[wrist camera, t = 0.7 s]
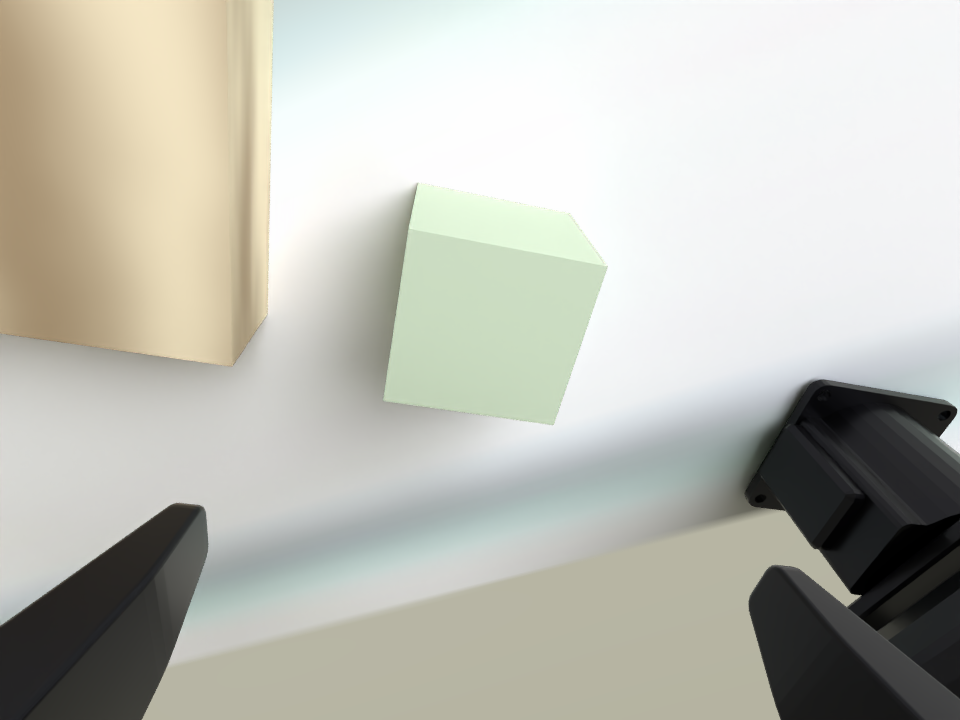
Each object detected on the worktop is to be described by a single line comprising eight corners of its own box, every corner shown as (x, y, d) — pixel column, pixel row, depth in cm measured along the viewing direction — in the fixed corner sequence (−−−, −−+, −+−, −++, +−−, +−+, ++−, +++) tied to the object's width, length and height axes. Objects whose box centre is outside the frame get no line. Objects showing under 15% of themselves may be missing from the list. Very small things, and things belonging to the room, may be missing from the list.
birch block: (280, -119, 14) (223, -175, 10) (270, 309, 19) (232, 366, 16) (-180, -244, 12) (-424, -357, 9) (-43, 259, 18) (-160, 310, 15)
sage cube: (569, 212, 18) (607, 266, 14) (530, 344, 20) (553, 425, 16) (418, 182, 17) (408, 228, 13) (397, 322, 20) (382, 400, 15)
